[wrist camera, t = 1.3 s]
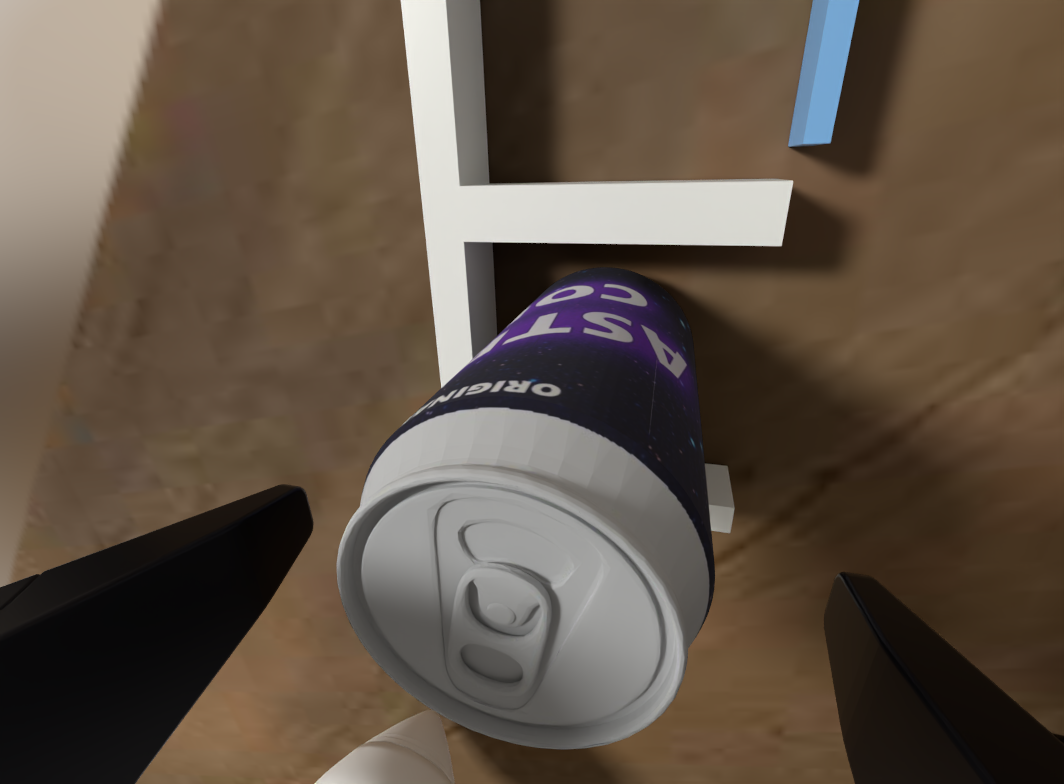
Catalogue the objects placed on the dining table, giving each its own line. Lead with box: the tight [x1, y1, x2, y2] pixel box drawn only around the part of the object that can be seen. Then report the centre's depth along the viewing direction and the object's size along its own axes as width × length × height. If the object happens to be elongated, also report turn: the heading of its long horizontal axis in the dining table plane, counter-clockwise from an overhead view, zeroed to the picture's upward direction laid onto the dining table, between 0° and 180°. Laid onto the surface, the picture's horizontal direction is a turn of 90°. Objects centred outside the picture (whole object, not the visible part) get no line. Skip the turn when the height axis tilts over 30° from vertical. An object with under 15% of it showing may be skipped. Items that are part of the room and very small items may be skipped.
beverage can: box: [337, 267, 715, 750], centre depth 12 cm, size 6×6×12 cm
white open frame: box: [401, 0, 859, 533], centre depth 14 cm, size 10×20×2 cm, turn 1°
